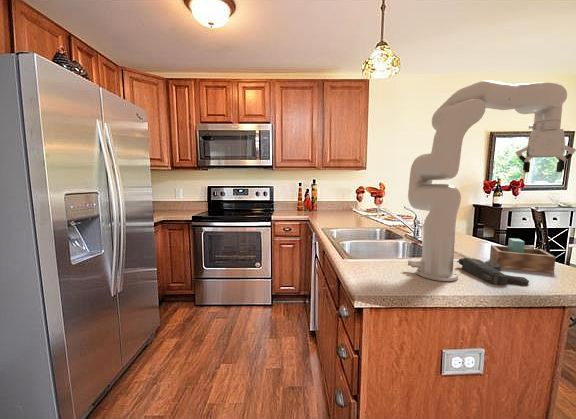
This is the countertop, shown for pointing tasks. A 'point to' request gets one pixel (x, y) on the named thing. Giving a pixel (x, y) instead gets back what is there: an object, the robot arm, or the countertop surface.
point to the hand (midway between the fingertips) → (542, 172)
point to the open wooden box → (523, 259)
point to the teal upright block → (516, 245)
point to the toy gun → (490, 272)
